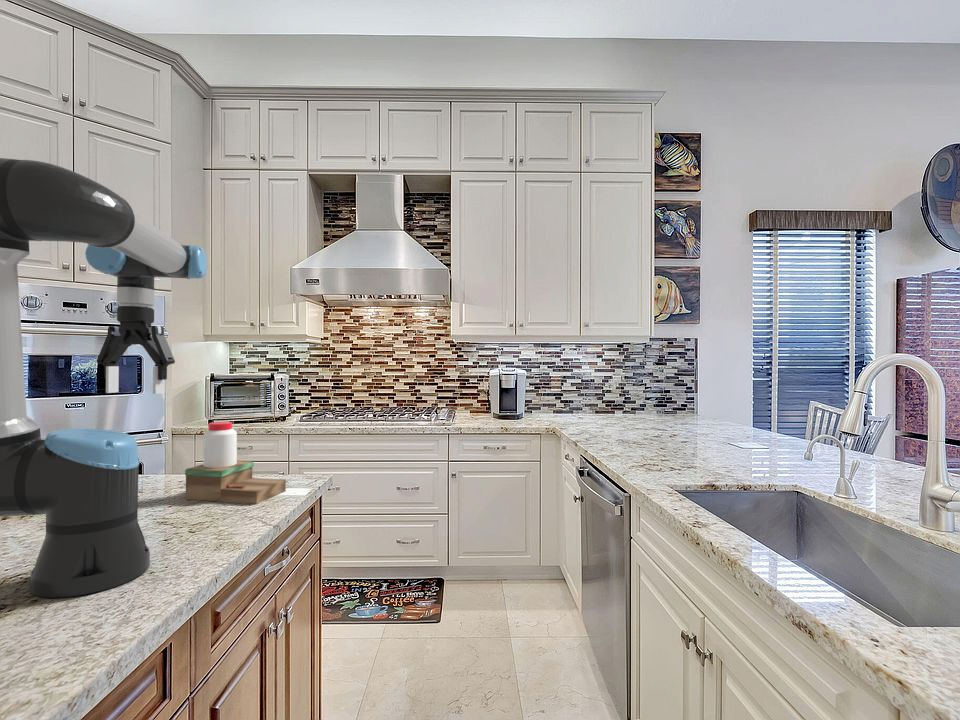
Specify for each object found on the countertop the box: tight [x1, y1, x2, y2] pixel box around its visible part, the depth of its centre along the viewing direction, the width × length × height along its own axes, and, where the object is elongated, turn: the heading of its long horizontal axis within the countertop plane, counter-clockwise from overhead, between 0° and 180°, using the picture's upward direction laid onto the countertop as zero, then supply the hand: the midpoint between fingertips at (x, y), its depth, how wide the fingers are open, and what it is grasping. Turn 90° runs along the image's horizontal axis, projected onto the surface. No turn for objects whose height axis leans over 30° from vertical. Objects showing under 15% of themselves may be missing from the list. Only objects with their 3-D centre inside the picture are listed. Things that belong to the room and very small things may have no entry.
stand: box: [184, 460, 287, 505], centre depth 127 cm, size 12×20×8 cm, turn 79°
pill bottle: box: [202, 421, 238, 468], centre depth 128 cm, size 8×8×11 cm
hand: (135, 393), depth 120 cm, fingers open, 13 cm apart
